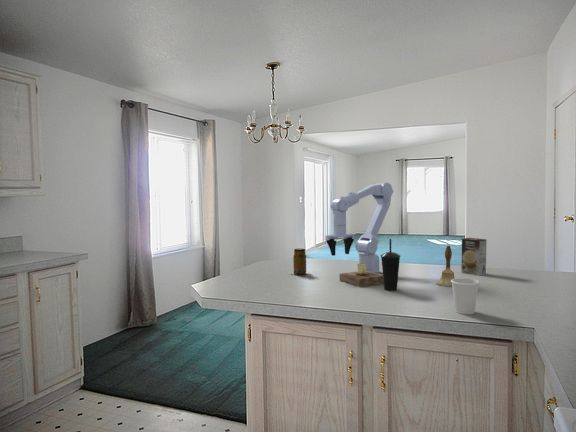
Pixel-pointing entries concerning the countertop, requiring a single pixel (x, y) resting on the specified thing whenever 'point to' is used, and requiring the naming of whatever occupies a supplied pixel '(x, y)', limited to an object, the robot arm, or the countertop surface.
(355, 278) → the socket block
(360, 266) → the pin
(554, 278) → the countertop surface
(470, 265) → the coffee box
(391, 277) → the drinking cup
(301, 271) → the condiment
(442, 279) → the hand bell
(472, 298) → the dixie cup
